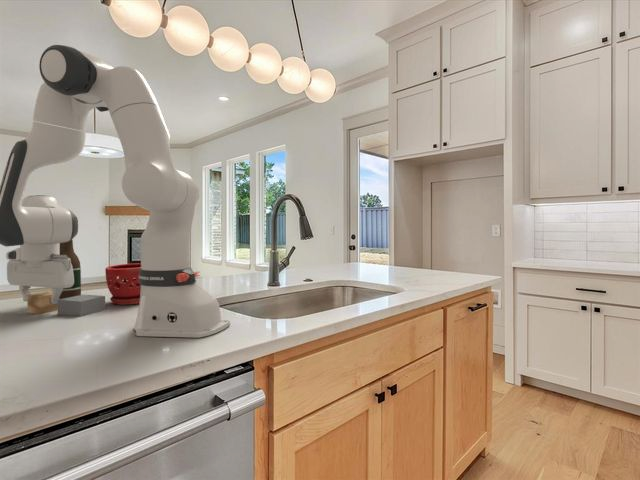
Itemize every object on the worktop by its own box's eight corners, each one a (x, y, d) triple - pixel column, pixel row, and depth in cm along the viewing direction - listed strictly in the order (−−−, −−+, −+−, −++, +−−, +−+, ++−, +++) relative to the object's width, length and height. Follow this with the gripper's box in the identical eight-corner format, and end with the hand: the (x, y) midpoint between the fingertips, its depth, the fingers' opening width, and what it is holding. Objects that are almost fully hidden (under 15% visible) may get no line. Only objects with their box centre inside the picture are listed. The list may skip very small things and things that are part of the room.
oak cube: (58, 310, 105) (58, 293, 105) (41, 314, 100) (41, 296, 100) (45, 309, 106) (44, 292, 106) (27, 313, 101) (27, 295, 101)
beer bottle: (86, 302, 116) (85, 227, 115) (59, 306, 109) (57, 227, 108) (75, 299, 120) (73, 226, 119) (47, 303, 113) (46, 226, 113)
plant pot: (123, 297, 123) (122, 262, 123) (160, 298, 122) (159, 263, 122) (96, 306, 110) (95, 267, 110) (137, 307, 109) (136, 267, 109)
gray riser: (105, 309, 106) (105, 296, 106) (81, 316, 98) (80, 301, 98) (83, 307, 108) (83, 294, 108) (57, 314, 100) (57, 299, 100)
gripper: (80, 254, 103) (80, 302, 103) (24, 251, 108) (25, 297, 108) (59, 255, 97) (59, 307, 97) (1, 253, 102) (2, 301, 102)
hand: (41, 302), depth 103 cm, fingers open, 8 cm apart
